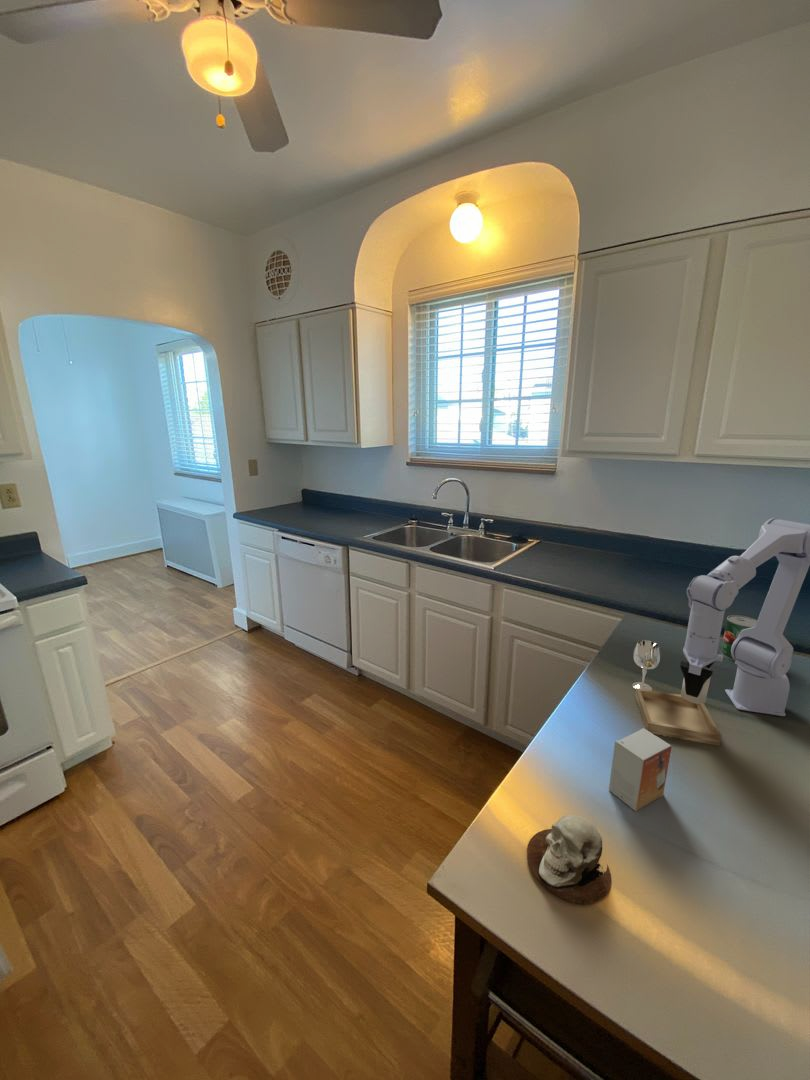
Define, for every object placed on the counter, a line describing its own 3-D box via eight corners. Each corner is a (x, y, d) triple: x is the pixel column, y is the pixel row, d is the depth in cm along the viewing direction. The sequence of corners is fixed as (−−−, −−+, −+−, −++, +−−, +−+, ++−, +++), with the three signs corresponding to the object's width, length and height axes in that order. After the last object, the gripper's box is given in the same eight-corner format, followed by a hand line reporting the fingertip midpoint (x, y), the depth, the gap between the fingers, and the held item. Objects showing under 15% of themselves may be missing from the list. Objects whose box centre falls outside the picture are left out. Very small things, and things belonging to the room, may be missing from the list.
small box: (635, 812, 76) (643, 761, 73) (607, 790, 81) (614, 740, 78) (664, 795, 79) (673, 745, 77) (636, 774, 84) (643, 726, 82)
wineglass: (659, 694, 109) (666, 650, 106) (636, 694, 109) (642, 650, 106) (647, 681, 115) (653, 638, 112) (625, 681, 115) (630, 638, 112)
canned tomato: (761, 663, 123) (769, 627, 120) (733, 663, 123) (740, 627, 120) (741, 649, 131) (748, 614, 128) (714, 649, 131) (720, 615, 128)
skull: (576, 925, 58) (541, 837, 62) (533, 909, 67) (504, 833, 71) (637, 880, 63) (600, 802, 67) (590, 871, 72) (560, 802, 76)
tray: (698, 707, 104) (700, 697, 104) (719, 745, 92) (721, 735, 91) (634, 697, 108) (635, 688, 107) (646, 733, 95) (648, 723, 95)
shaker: (707, 697, 97) (713, 668, 95) (703, 706, 93) (709, 677, 91) (683, 688, 100) (688, 660, 98) (678, 697, 96) (684, 669, 94)
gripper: (723, 651, 85) (712, 713, 88) (729, 625, 96) (718, 681, 99) (681, 641, 89) (671, 700, 92) (691, 617, 100) (682, 670, 103)
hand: (693, 689), depth 96 cm, fingers closed on shaker, 5 cm apart
